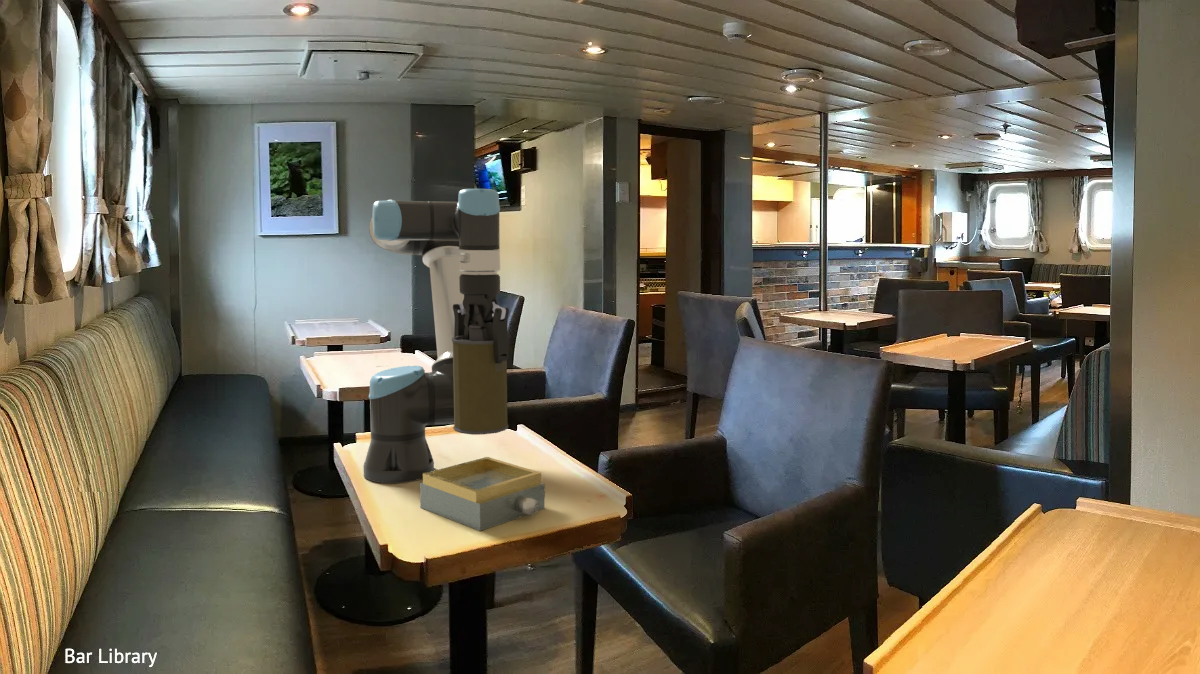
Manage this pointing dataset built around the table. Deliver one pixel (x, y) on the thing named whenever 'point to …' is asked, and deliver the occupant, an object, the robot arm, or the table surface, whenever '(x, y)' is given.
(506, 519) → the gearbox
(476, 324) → the canister
